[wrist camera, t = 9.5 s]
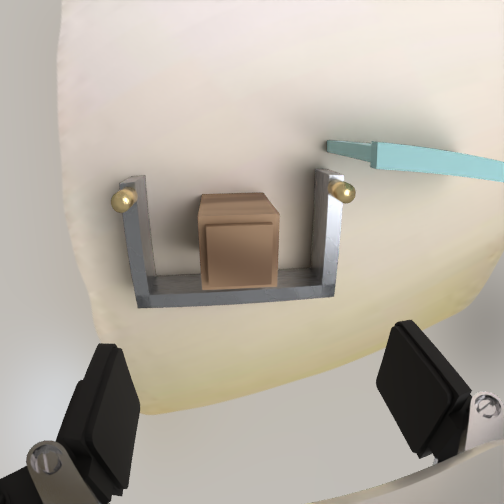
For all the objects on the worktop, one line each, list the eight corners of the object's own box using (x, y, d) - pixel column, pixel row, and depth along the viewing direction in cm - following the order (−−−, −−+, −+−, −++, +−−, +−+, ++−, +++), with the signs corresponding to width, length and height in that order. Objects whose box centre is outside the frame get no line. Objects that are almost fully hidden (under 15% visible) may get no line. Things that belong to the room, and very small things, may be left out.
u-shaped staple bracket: (130, 176, 24) (109, 188, 19) (329, 169, 26) (356, 179, 21) (144, 288, 28) (131, 321, 23) (322, 278, 29) (343, 308, 24)
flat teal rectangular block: (327, 136, 25) (377, 142, 16) (458, 151, 26) (520, 166, 18) (327, 155, 25) (376, 168, 17) (457, 166, 27) (518, 184, 19)
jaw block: (202, 194, 25) (197, 219, 18) (263, 192, 26) (281, 216, 19) (204, 251, 27) (201, 294, 20) (262, 249, 28) (278, 290, 21)
